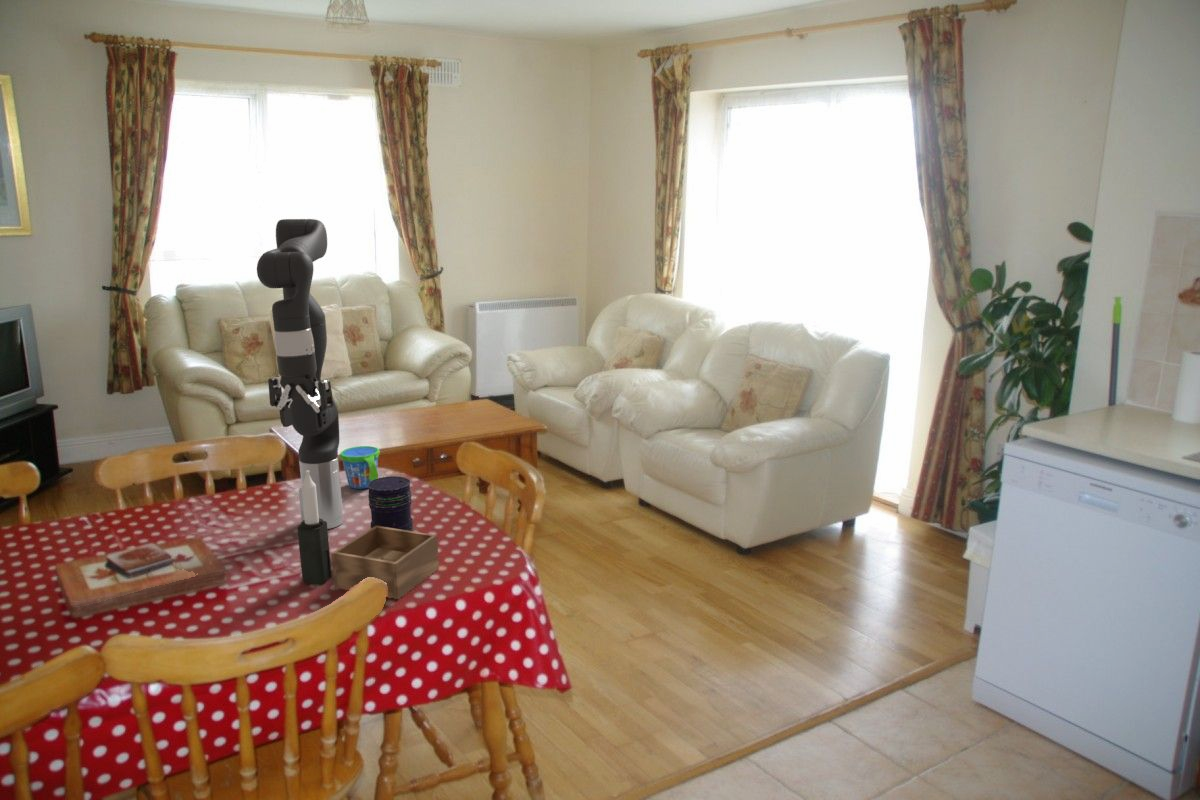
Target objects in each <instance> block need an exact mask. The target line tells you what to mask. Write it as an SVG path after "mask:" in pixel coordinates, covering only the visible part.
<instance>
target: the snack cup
mask: <svg viewBox="0 0 1200 800" xmlns="http://www.w3.org/2000/svg"><path fill="white" fill-rule="evenodd" d="M380 454H381V451H380V450H379V448H378V447H376V446H370V445H360V446H354V447H349V448H346V449H344V450H342V451H340V453H339V458H340V459H341V461H342V463H343V468H344V473H345V477H346V480H347V483H348V486H349V487H350V488H352V489H354V490H363V489H368V484H369V482H371V481H372V480H375V479H378V477H379V473H378V463H379V461H378V460H379V456H380Z"/></svg>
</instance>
